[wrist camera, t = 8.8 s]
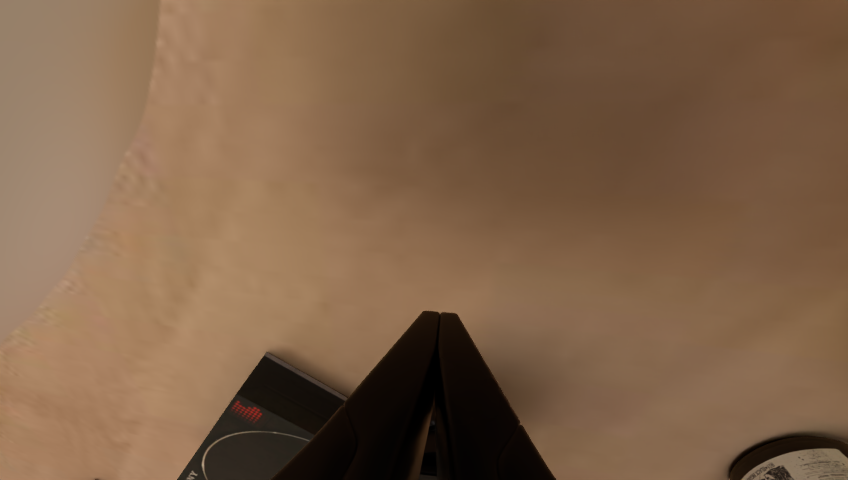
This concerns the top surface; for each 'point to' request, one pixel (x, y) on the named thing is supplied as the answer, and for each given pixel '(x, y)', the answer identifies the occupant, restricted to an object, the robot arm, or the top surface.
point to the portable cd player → (264, 424)
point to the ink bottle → (795, 460)
